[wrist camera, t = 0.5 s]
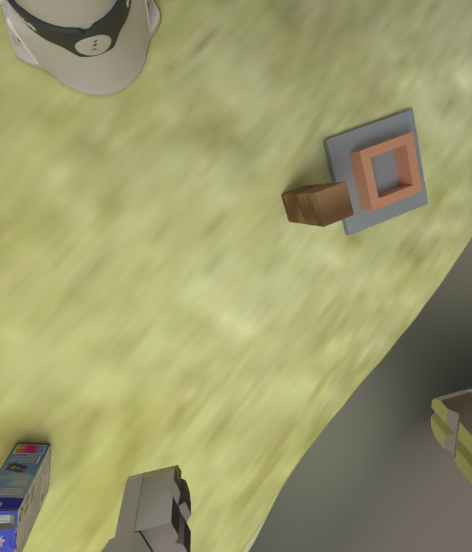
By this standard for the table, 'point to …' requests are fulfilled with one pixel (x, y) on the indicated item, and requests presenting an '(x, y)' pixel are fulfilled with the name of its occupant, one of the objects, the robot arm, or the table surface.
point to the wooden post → (318, 204)
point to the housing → (378, 170)
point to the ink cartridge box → (22, 493)
